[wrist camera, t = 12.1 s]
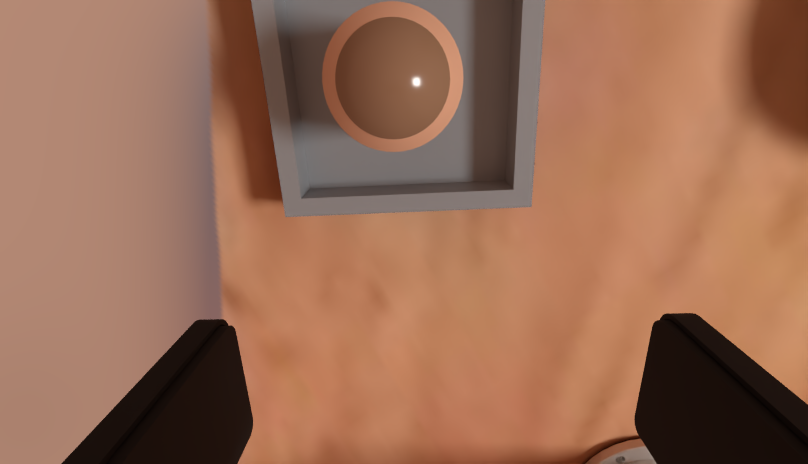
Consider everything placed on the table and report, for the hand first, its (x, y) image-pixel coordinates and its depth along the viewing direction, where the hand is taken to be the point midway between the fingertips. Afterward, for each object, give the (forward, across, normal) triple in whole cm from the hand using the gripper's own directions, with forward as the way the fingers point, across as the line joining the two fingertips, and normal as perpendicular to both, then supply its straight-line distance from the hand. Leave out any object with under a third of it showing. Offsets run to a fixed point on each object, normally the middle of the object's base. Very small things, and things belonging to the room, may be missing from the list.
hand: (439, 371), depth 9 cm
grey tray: (+21, +1, -6) cm, 22 cm away
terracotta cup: (+20, +2, -6) cm, 21 cm away
